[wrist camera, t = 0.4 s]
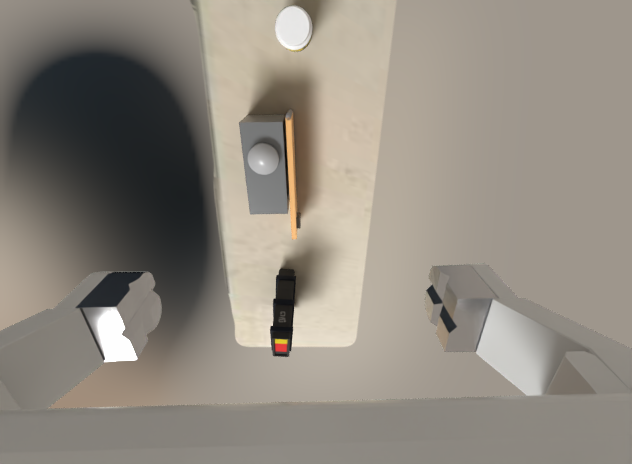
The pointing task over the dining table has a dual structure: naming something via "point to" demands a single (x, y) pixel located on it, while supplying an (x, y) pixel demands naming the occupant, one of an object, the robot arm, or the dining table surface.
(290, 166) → the side door
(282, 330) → the magazine
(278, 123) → the block
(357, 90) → the dining table surface
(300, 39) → the supplement bottle
